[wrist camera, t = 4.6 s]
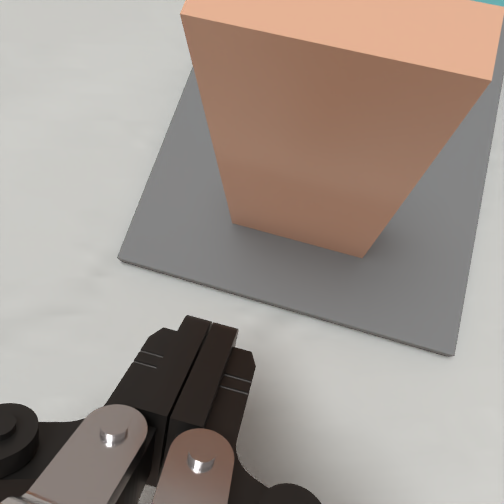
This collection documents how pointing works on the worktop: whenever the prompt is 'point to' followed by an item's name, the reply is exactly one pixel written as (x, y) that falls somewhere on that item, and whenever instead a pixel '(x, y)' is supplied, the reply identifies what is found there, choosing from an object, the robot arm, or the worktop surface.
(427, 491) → the worktop surface
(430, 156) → the tile
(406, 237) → the mat
